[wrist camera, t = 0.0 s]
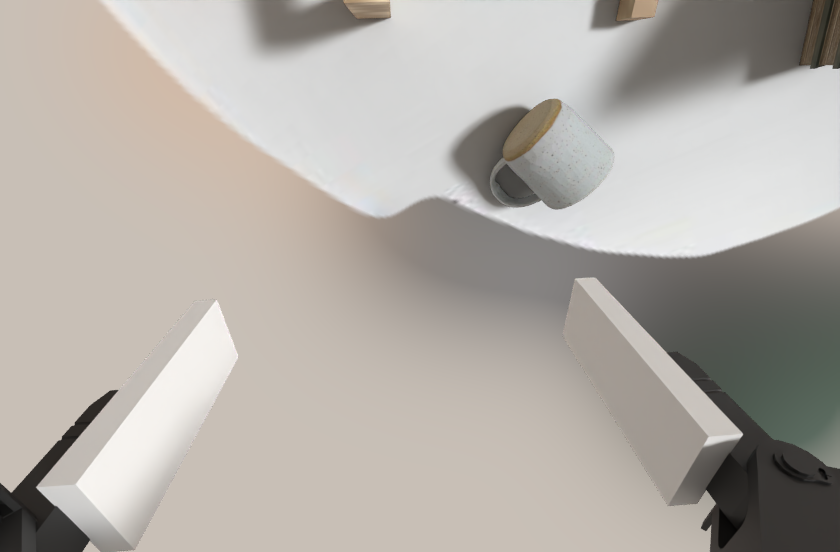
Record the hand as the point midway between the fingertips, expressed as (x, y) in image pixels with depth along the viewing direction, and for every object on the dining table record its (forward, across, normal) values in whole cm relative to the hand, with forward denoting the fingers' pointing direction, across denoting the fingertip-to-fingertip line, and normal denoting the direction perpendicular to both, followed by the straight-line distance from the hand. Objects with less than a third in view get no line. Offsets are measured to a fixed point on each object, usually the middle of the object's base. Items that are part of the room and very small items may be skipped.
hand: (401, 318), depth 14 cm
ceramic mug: (+28, +15, -1) cm, 32 cm away
